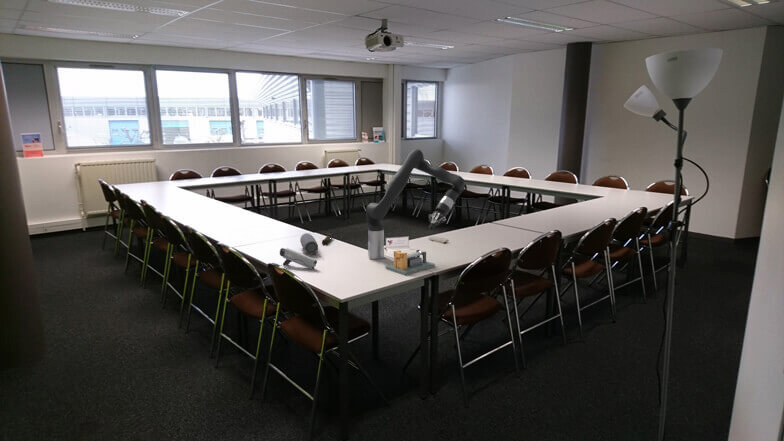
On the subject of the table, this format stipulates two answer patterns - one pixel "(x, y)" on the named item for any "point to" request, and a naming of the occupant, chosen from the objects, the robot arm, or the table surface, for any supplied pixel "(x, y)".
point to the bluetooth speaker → (309, 243)
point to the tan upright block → (400, 260)
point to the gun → (297, 258)
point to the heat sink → (414, 262)
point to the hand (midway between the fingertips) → (429, 229)
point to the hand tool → (327, 239)
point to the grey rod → (414, 254)
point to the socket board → (414, 269)
